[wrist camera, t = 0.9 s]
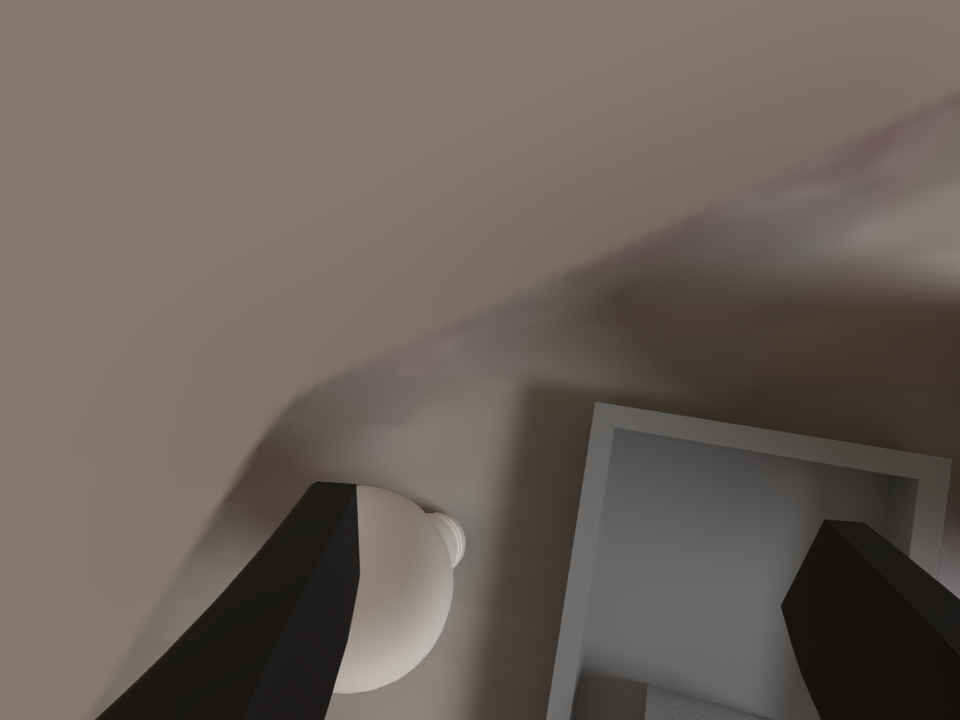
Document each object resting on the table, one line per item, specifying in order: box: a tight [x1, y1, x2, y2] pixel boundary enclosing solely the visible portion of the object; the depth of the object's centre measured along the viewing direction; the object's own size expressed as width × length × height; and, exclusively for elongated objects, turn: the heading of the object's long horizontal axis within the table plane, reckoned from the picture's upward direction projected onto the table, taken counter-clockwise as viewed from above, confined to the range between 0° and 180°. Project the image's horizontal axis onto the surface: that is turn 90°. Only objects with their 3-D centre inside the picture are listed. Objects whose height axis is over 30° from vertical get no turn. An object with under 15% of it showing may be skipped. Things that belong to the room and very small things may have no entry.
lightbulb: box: [333, 486, 466, 694], centre depth 22 cm, size 6×6×11 cm
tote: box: [546, 402, 952, 720], centre depth 21 cm, size 16×11×4 cm
